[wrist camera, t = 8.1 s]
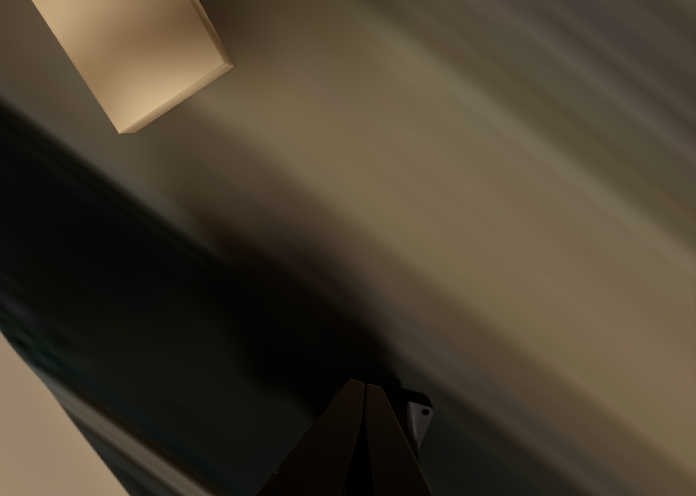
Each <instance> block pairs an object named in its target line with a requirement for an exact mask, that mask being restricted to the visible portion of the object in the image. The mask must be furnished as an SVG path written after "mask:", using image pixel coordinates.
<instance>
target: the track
mask: <svg viewBox="0 0 696 496" xmlns="http://www.w3.org/2000/svg"><path fill="white" fill-rule="evenodd" d="M32 1H33V3H34V4H35V6H36V7H37V9H38V10H39V12H40V13H41V15H42V16H43V18H44V19H45V21H46V22H47V24H48V26H49V27H50V29H51V30H52V32H53V33H54V35H55V36H56V38H57V39H58V41H59V42H60V44H61V45H62V47H63V48H64V50H65V51H66V53H67V55H68V56H69V58H70V59H71V61H72V62H73V64H74V65H75V67H76V68H77V70H78V71H79V73H80V74H81V76H82V77H83V79H84V80H85V82H86V83H87V85H88V87H89V88H90V90H91V91H92V93H93V94H94V96H95V97H96V99H97V100H98V102H99V103H100V105H101V106H102V108H103V109H104V111H105V112H106V114H107V116H108V117H109V119H110V120H111V122H112V123H113V125H114V126H115V128H116V129H117V131H118V132H119V133H135V132H136V131H138V130H140V129H141V128H143V127H144V126H146V125H147V124H149V123H150V122H152V121H153V120H155V119H156V118H158V117H159V116H161V115H162V114H164V113H165V112H167V111H168V110H170V109H171V108H173V107H174V106H176V105H177V104H179V103H181V102H182V101H184V100H185V99H187V98H188V97H190V96H191V95H193V94H194V93H196V92H197V91H199V90H200V89H202V88H203V87H205V86H206V85H208V84H209V83H211V82H212V81H214V80H215V79H217V78H218V77H220V76H222V75H223V74H225V73H226V72H228V71H229V70H231V69H232V68H234V67H235V66H234V64H233V62H232V60H231V58H230V56H229V55H228V53H227V51H226V49H225V47H224V45H223V44H222V42H221V40H220V38H219V36H218V34H217V32H216V31H215V29H214V27H213V25H212V23H211V21H210V20H209V18H208V16H207V14H206V12H205V10H204V8H203V7H202V5H201V3H200V1H199V0H32Z"/></svg>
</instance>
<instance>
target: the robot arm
mask: <svg viewBox="0 0 696 496" xmlns="http://www.w3.org/2000/svg"><path fill="white" fill-rule="evenodd" d="M423 409H427V410H426V411H424V410H423ZM432 416H433V407H432V405H431V404H430V403H429V402H426V401H422V400H419V399H415V398H411V397H408V396H404V395H400V394H397V393H393V392H389V391H386V390H383V389H382V388H381V387H379V386H376V385H372V384H366V385H365V384H364V382H361V381H357V380H354V379H349V380H340V381H339V382H338V383H337V387H336V390H335V394H334V398H333V400H332V401H331V402H330V404H329V405H328V406H327V408H326V409H325V410H324V411H323V413H322V414H321V415H320V416H319V418H318V419H317V420H316V421H315V423H314V424H313V425H312V426H311V428H310V429H309V430H308V431H307V433H306V434H305V435H304V436H303V438H302V439H301V440H300V441H299V443H298V444H297V445H296V447H295V448H294V449H293V450H292V452H291V453H290V454H289V455H288V457H287V458H286V459H285V460H284V462H283V463H282V464H281V465H280V467H279V468H278V469H277V470H276V473H274V474H273V475H272V476H271V478H270V479H269V480H268V481H267V483H266V484H265V485H264V486H263V488H262V489H261V490H260V491H259V492H258V494H257V495H256V496H433V495H432V493H431V490H430V488H429V486H428V484H427V482H426V480H425V478H424V476H423V473H422V471H421V469H420V467H419V458H418V450H419V447H420V445H421V442H422V440H423V437H424V435H425V433H426V430H427V428H428V425H429V423H430V420H431V418H432Z"/></svg>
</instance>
